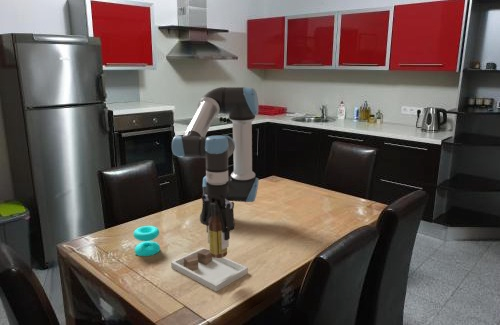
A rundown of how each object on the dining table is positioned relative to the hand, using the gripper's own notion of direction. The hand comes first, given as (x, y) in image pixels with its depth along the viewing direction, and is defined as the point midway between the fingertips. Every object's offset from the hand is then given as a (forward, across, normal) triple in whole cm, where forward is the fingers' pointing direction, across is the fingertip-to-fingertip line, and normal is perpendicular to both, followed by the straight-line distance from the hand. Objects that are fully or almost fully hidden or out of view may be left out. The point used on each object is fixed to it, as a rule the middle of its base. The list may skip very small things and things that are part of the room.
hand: (218, 244), depth 137 cm
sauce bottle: (+4, 0, 0) cm, 4 cm away
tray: (+13, -5, 0) cm, 14 cm away
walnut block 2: (+12, -11, +4) cm, 17 cm away
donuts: (+13, -35, -6) cm, 38 cm away
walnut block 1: (+12, -11, -3) cm, 17 cm away
